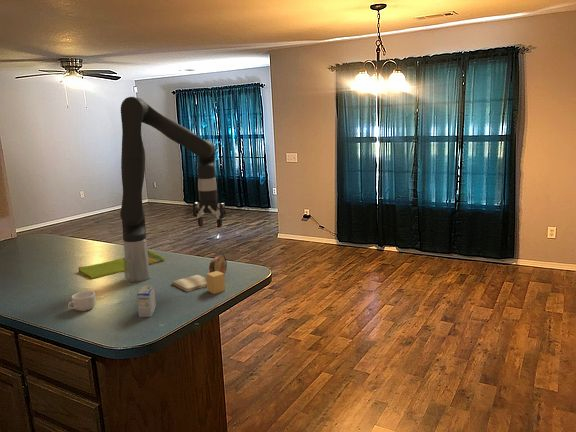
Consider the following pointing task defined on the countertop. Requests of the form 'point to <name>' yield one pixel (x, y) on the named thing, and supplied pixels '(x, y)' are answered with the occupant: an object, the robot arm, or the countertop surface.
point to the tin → (218, 264)
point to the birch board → (191, 283)
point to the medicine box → (146, 301)
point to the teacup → (83, 300)
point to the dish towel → (113, 266)
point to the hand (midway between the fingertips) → (210, 227)
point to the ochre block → (215, 282)
